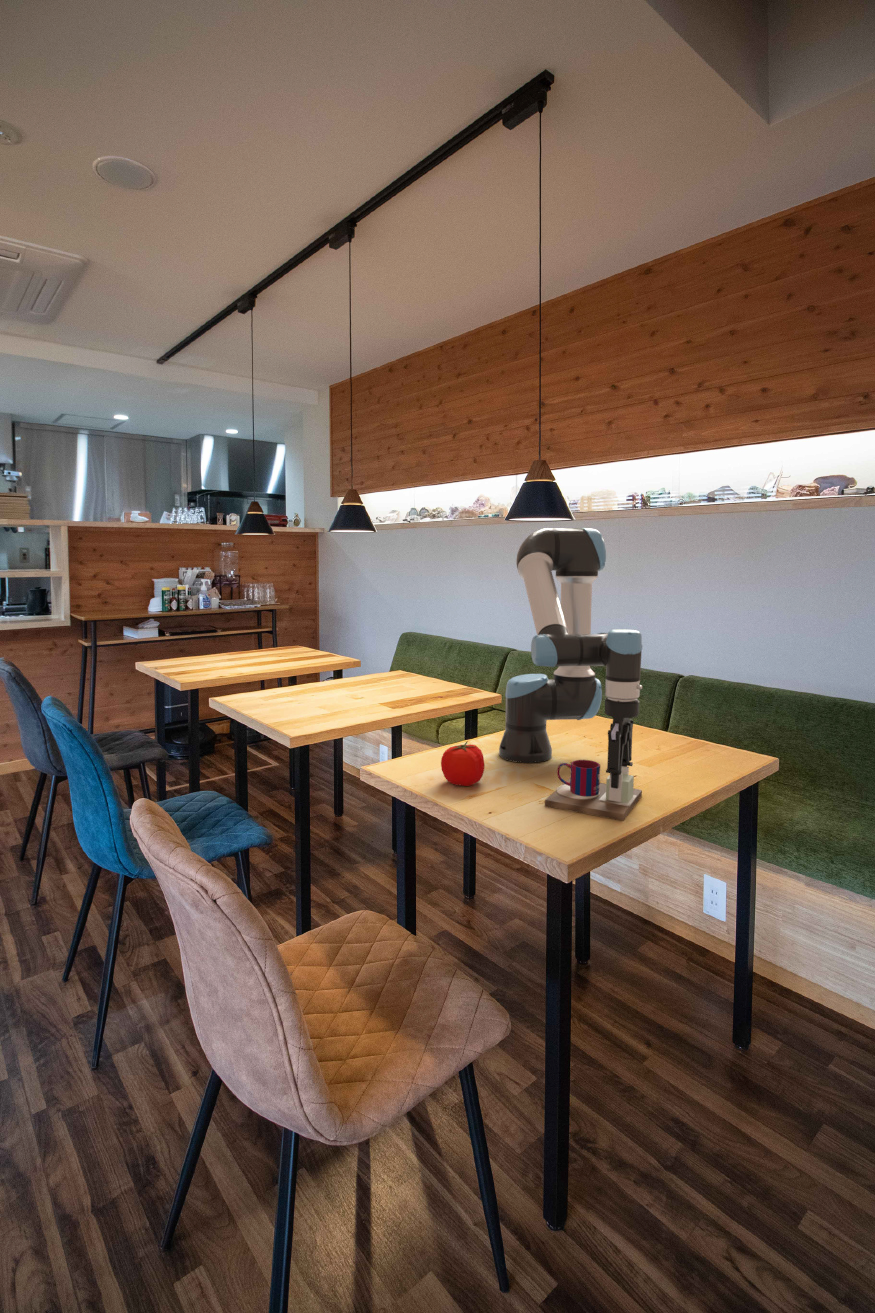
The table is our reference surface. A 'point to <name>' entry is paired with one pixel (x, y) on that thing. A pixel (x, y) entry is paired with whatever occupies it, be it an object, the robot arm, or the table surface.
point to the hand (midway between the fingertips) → (618, 796)
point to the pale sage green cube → (623, 788)
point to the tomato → (463, 764)
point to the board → (592, 802)
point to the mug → (583, 777)
